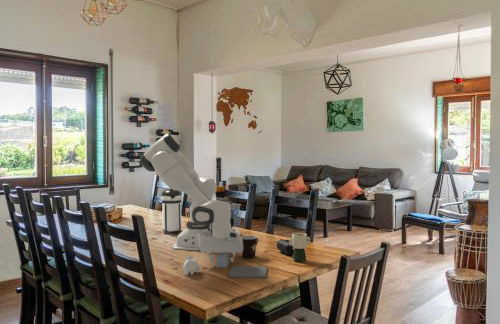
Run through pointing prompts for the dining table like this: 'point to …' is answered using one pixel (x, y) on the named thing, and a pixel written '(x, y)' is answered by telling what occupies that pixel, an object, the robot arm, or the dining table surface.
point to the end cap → (285, 247)
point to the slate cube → (222, 260)
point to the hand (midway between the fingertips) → (221, 261)
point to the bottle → (221, 194)
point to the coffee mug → (249, 246)
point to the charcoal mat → (247, 272)
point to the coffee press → (171, 210)
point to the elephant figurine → (190, 265)
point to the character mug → (299, 245)
